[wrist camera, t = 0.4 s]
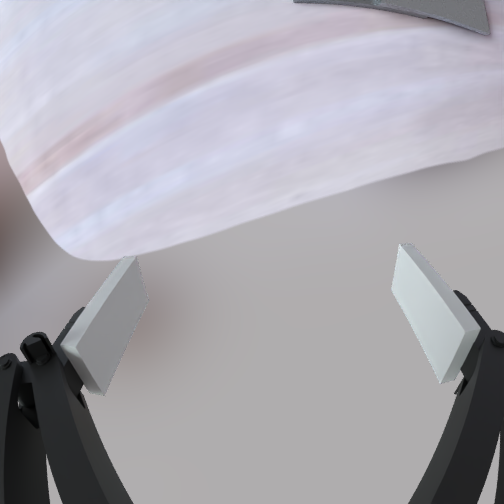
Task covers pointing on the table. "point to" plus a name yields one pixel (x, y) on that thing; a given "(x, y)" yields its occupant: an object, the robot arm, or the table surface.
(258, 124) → the table surface
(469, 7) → the plate with square hole
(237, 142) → the table surface
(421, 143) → the table surface
